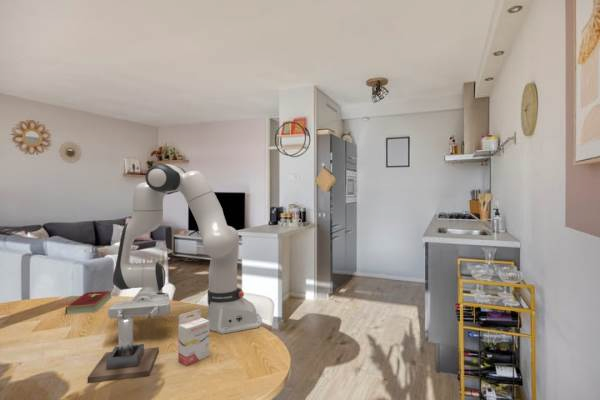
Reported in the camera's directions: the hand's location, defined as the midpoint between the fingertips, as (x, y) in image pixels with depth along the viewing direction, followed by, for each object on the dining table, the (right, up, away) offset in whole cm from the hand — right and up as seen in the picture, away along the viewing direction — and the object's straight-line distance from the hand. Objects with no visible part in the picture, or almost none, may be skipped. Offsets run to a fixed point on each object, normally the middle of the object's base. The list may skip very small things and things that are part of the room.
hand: (135, 316), depth 114 cm
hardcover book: (-42, -11, +44) cm, 62 cm away
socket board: (+2, -12, -10) cm, 16 cm away
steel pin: (+2, -10, -11) cm, 15 cm away
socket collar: (+2, -10, -10) cm, 15 cm away
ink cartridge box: (+22, -12, -6) cm, 26 cm away
